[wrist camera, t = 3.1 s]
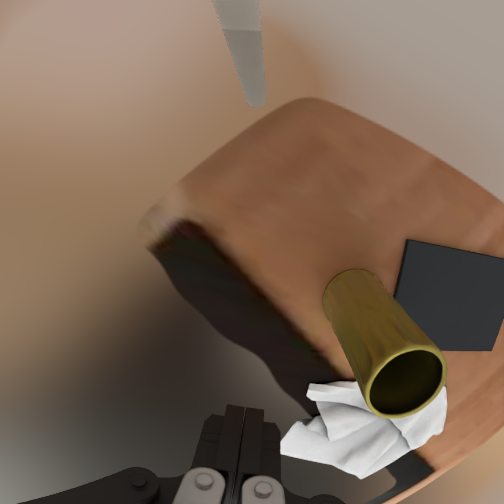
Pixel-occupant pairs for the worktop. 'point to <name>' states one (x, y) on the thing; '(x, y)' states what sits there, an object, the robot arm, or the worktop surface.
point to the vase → (383, 346)
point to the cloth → (359, 430)
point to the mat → (452, 295)
